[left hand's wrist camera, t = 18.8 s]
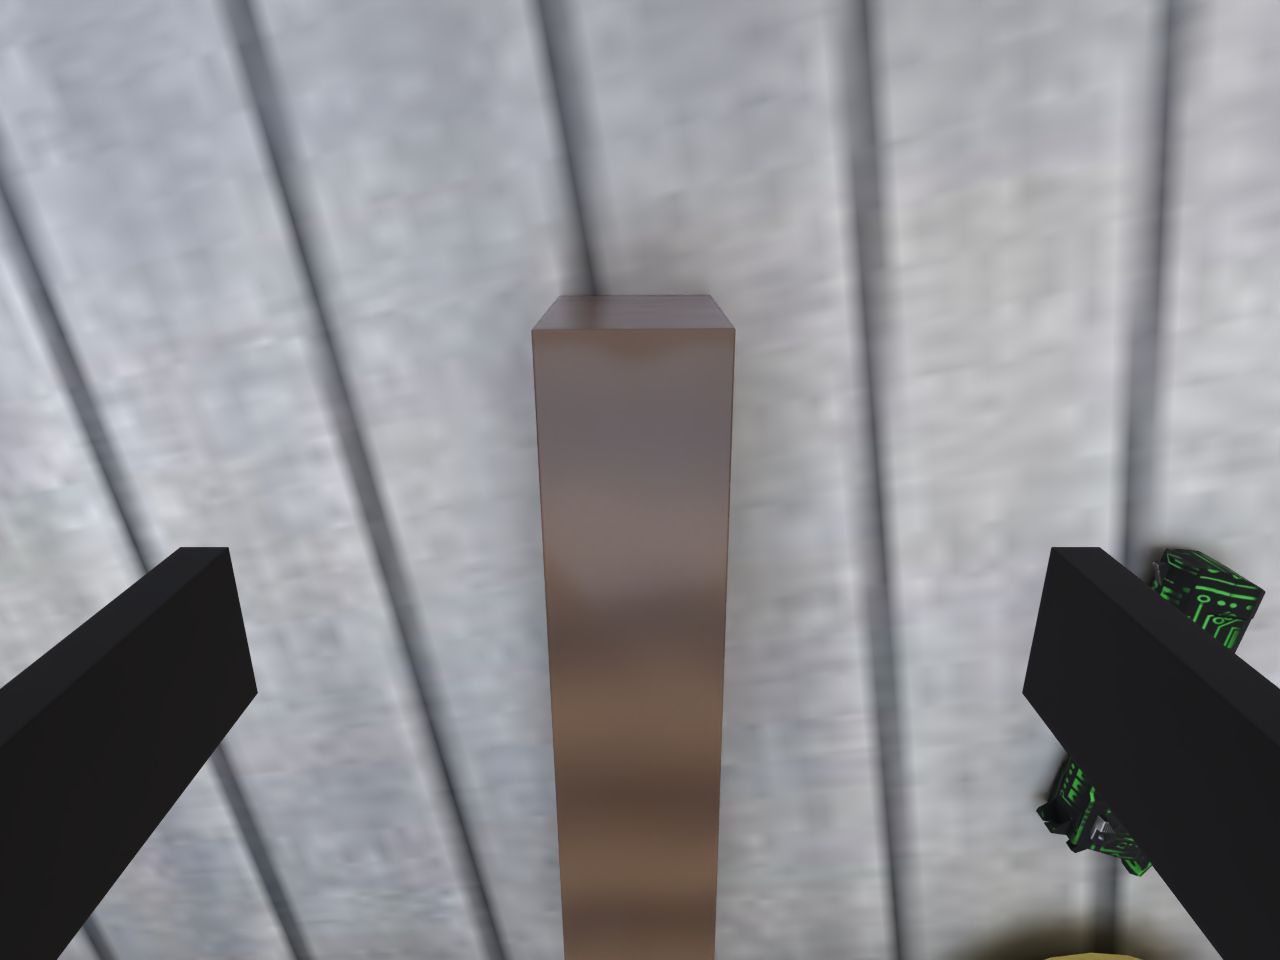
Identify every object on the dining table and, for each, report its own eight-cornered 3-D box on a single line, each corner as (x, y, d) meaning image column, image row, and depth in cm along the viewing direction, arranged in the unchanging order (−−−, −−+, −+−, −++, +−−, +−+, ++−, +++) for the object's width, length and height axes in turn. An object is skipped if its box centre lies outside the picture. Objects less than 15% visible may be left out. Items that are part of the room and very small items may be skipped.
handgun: (1304, 925, 38) (1024, 873, 37) (1256, 876, 41) (994, 825, 39) (1501, 641, 33) (1188, 564, 32) (1431, 607, 36) (1141, 535, 34)
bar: (558, 295, 31) (530, 329, 23) (710, 294, 31) (735, 328, 23) (584, 927, 42) (571, 1097, 34) (696, 926, 42) (709, 1096, 34)
